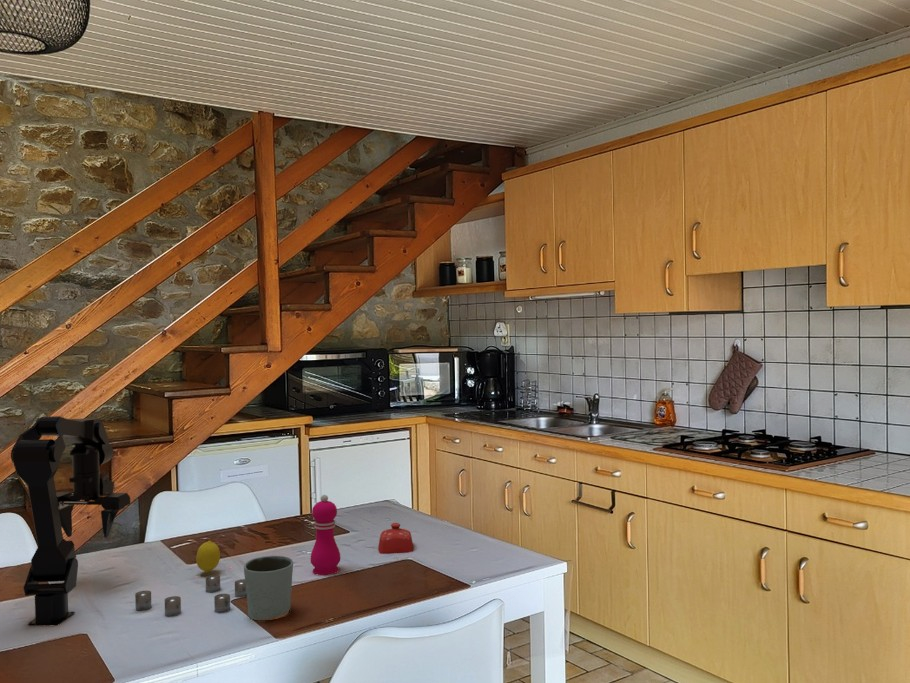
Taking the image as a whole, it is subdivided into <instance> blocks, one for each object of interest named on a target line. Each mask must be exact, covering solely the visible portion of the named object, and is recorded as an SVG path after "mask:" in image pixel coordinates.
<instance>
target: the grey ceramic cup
mask: <svg viewBox="0 0 910 683" xmlns="http://www.w3.org/2000/svg"><path fill="white" fill-rule="evenodd" d="M293 569H294V561H293V559H292V558H291V557H288V556H284V555H265V556H259V557H255V558H251V559H250V560H248V561H246V562H245V563H244V565H243V573H244V574H243V575H244V579H245V583H246V593H247V596H246V603H247V604H246V605H247V618H248V617H249V618H251V619H255V620H258V619H259V620H261V619H262V620H263V619H270V618H274V617H278V616H281V615H284V614H286V613H287V612H288V611H289V610H290V611H291V606H292V605H291V604H292V591H293V590H292V588H293V572H294V570H293ZM249 618H248V619H249ZM251 619H250V620H251Z"/></svg>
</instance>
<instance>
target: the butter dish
mask: <svg viewBox="0 0 910 683" xmlns="http://www.w3.org/2000/svg"><path fill="white" fill-rule="evenodd" d="M390 526H391V528H388V529H385V530H383V531H382V532H381V533H380V536H379V540H378V547H377V548H378V550H377V551H378V553H379V554H380V555H389V554H393V555H394V554H406V553H413V552H414V542H413V537H412V534H411V531H410V530H408V529H406V528H400V527H401V524H400V523H398V522H393V523H391V524H390Z"/></svg>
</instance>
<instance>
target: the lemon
mask: <svg viewBox="0 0 910 683" xmlns="http://www.w3.org/2000/svg"><path fill="white" fill-rule="evenodd" d="M195 559H196V561H195V562H196V565H197V567H198V568H199V569H200V570H201V571H203V572H204V573H205V574H208V573H210V572H211V571H214V569H216V568H218V567H217V566H218V565H219V563H220V560H221V552H220V547H219V546H218V544H216V543H215V542H213V541H211V540H207V541H206V542H203V543H202V544H201V545H200V546H199V547H198V549H197V552H196V557H195Z"/></svg>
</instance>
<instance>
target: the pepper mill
mask: <svg viewBox="0 0 910 683" xmlns="http://www.w3.org/2000/svg"><path fill="white" fill-rule="evenodd" d="M328 499H329V496H328V495H326V494H322V495H321V497H320V501H318V502H316V503H315V504H314V505H313V507H312V510H311V514H312V518H313V519H314V520H315V521H314V522H313V523H314V524H313V525H314V528H315V530H316V531H315V532H316V535H315V536H316V537H315V542H314V545H313V548H312V550H311V554H310V564H311V565H312V566H313V569H312V574H314V575H316V574H318V575H317V576H326V575H325V574H330V575H333V574H332V573H334V574H336V573H338V572H339V571H338V570H339V569H340V568H339V567H338V565H339V564H340V562H341V552H340V549H339V546H338V545H337V543H336V540H335V535H334V534H335V533H334V531H335V530H334V528H335V527H336V524H335V523H336V520H335V518H336V517H337V514H338V508H337V506H336V504H335V503H334V502H332V501H331V500H330V501H329V500H328ZM337 571H338V572H337ZM335 572H336V573H335ZM319 574H320V575H319Z"/></svg>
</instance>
